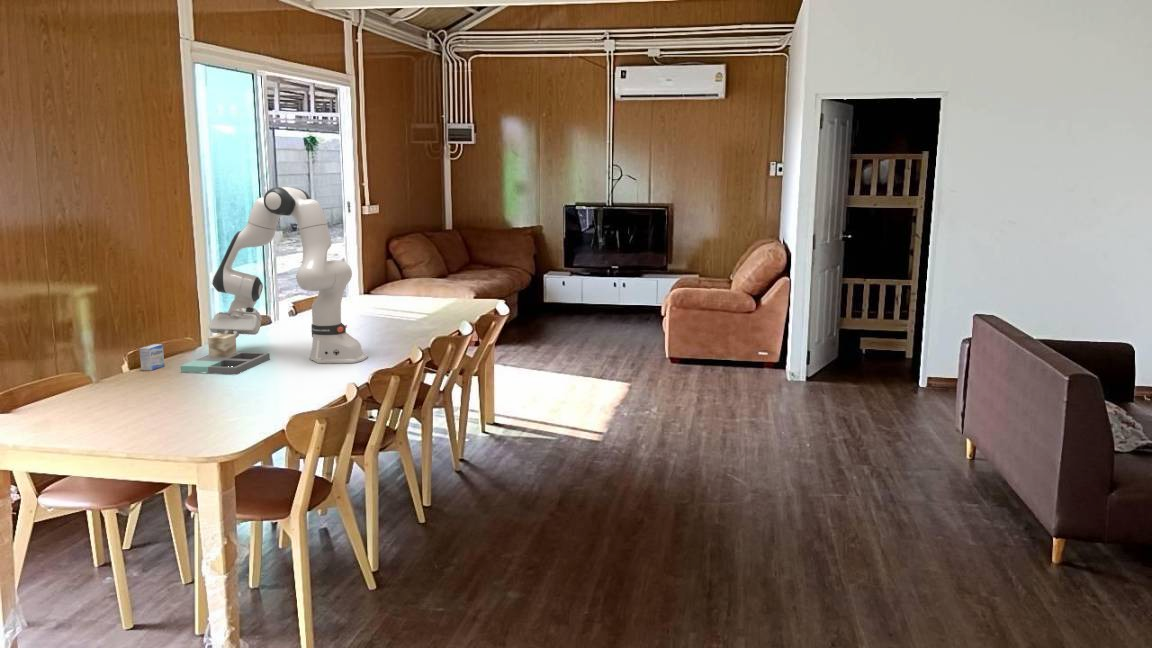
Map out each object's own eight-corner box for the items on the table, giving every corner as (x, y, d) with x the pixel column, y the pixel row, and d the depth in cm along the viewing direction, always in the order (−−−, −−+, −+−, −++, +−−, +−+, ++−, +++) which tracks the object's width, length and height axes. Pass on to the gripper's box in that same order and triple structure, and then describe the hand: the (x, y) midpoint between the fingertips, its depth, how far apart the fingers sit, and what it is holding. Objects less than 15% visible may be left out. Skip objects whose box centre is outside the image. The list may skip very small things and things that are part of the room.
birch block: (236, 352, 353) (235, 334, 352) (225, 357, 345) (224, 338, 344) (220, 352, 354) (219, 333, 353) (209, 356, 346) (207, 337, 345)
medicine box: (151, 371, 333) (149, 348, 331) (140, 370, 334) (139, 347, 332) (165, 366, 340) (163, 344, 339) (154, 365, 341) (152, 343, 340)
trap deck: (269, 359, 353) (269, 353, 353) (235, 374, 328) (235, 368, 328) (218, 357, 356) (218, 351, 356) (181, 372, 331) (180, 365, 331)
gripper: (212, 307, 360) (201, 336, 352) (259, 309, 357) (249, 338, 349) (219, 316, 365) (207, 344, 357) (265, 318, 362) (255, 346, 354)
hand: (228, 341), depth 353 cm, fingers closed
